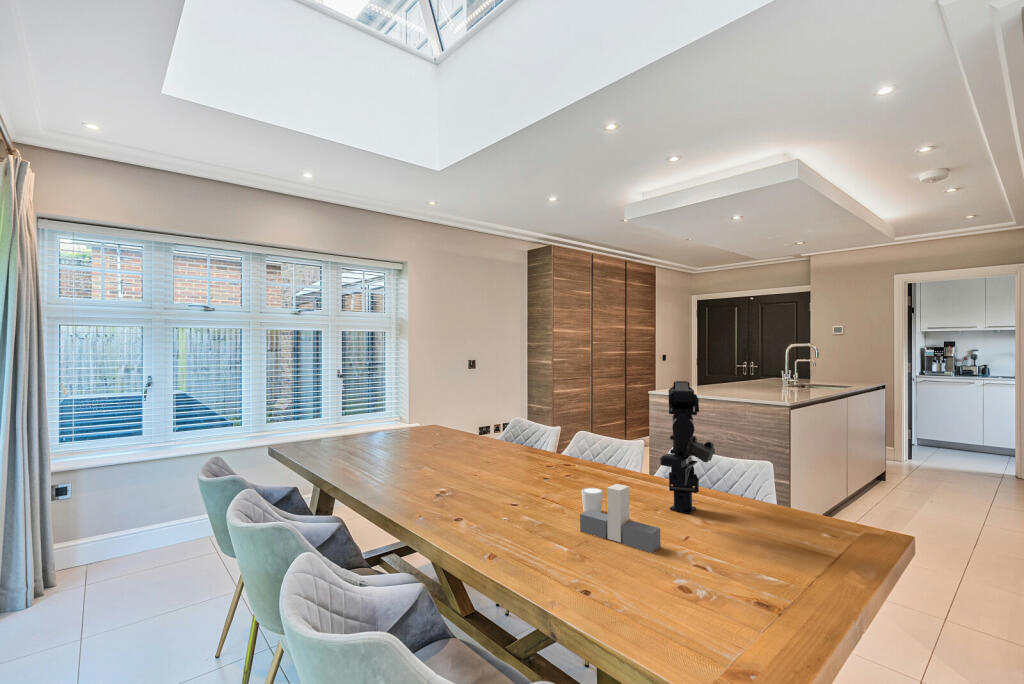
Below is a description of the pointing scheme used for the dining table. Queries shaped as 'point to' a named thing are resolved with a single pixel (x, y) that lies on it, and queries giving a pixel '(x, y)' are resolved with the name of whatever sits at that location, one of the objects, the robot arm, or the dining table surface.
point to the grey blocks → (632, 531)
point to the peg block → (617, 511)
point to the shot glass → (592, 499)
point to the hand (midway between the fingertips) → (683, 485)
